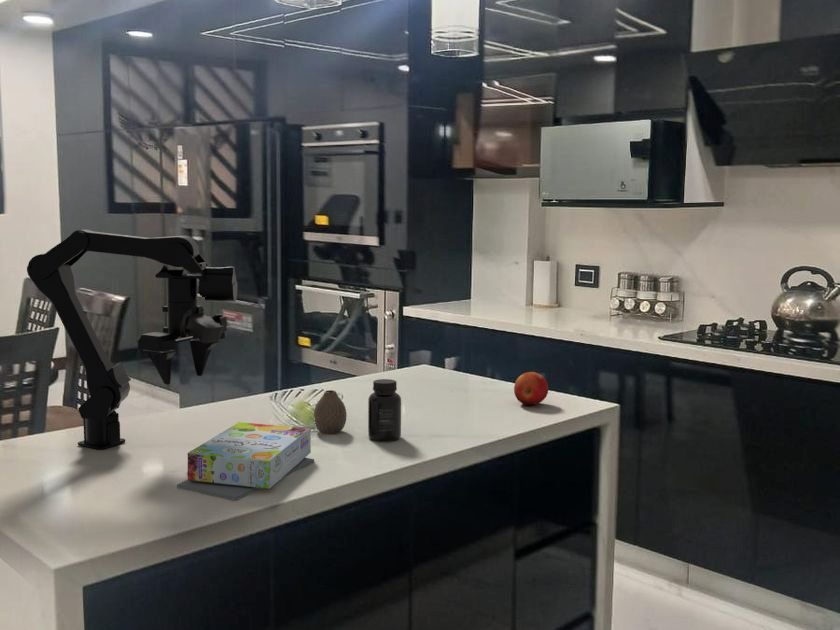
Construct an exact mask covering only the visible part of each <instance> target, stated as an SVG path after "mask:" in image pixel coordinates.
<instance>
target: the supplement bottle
mask: <svg viewBox="0 0 840 630" xmlns="http://www.w3.org/2000/svg"><path fill="white" fill-rule="evenodd" d="M372 383H373V387H372V391H374V392H372V393H371V394H370V395H369V396H368V401H367V403H368V404H367V405H368V407H367V408H368V411H367V412H368V415H367V417H368V418H367V419H368V420H367V423H368V425H367V427H368V429H367V432H368V438H369V439H370V440H371V441H375V442H383V443H384V442H385V443H386V442H395V441H397V440H399V439H401V436H402V397H401V395H400V394H399V393H397V392H396V391H397V390H398V388H397V385H398V383H397V380H394V379H389V378H387V379H386V378H380V379H375V380H373V382H372Z"/></svg>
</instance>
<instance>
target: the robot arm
mask: <svg viewBox="0 0 840 630" xmlns="http://www.w3.org/2000/svg"><path fill="white" fill-rule="evenodd" d="M88 252H94V253H102V254H112V255H121V256H122V255H124V256H129V257H130V256H131V257H138V258H146V259H150V260H152V261H155V262H157V263H160V264H164V265H163V266H162V267H161V269H160V270H159V271H158V272H157V273H156V274H155V278H156V279H166V305H164V306H162V309H161V310H162V313H166V315H167V316H166V317H167V319H166V320H167V321H166V322H167V324H166V325H167V326H165V327H164V326H163V327H162V332H157V331H154V332H153V331H152V332H147V333H142V334H140V335H139V336H138V338H137V349H138V350H141V351H142V352H143V353H144V354H146V355H147V356H148V357H149V359H150V361H151V362H152V364H153V365H154V367H155V368H156V370H157V372H158V374H159V376H160V378H161V380H162V383H163V384H164V385H167V386H169V385H170V384H171V378H172V358H173V357H174V356H175V354H176V353H177V350H174V348H175V347H176V345H177V343H182V342H187V341H189V346H190V350H191V356H192V360H193V367H194V370H195V373H196V376H197V377H202V376H203V375H204V371H205V368H206V366H207V362H208V359H209V357H210V354H211V351H212V349H214V348H215V347H216V346H217V345H218V344H220V343H221V341H222V340H223V339H225V338H226V335H225V334H226V332H227V331H228V328H227V327H228V324H227V323H228V322H227V315H224V314H223V313H219V314H218V313H217V314H214V316H210V315H209V316H208V315H206V314H205V313H204V307H203V305H199V304H198V303H199V302H198V301H199V300H198V299H199V298H198V293H199V296H200V297H201V298H204V301H205V302H219V303H220V302H225V303H226V302H228V303H231V302H232V303H233V302H234V303H236V301H237V299H238V298H237V297H238V281H237V275H236V271H235V266H225V267H220V266H219V267H218V266H217V267H215V266H214V267H212V266H211V267H210V265H209V264H208V262H207V261H206V260H205V258H204V257H203V256H202V255H201V253H200V248H199V245H198V243H197V241H196V240H195V239H194V238H193V237H191V236H188V235H173V236H170V235H169V236H161V237H160V236H158V237H145V236H136V235H126V234H119V233H110V232H102V231H100V232H99V231H92V230H91V229H80V230H79V229H77V230H74V231H73V232H72V233H71V234H70V235H69V236H68V237H66V238H65V239H64V240H62V241H61V242H60V243H58V244H56V245H55V246H53V247H52V248H50V249H49V250H48V251H46V252H45V253H41V254H36V255H34V256H33V257H32V258H31V259H30V260H29V261H28V264H27V266H26V272H27V276H28V277H29V279H30V280H31V281H32V283H33V284H34V285H35V287H36V288H37V289H38V291H39V292H40V293H41V294H43V296H45V297H46V298H47V299H48V300H49V301H50V302H51V303H52V305H53V308H54V309H55V312H56V314H57V315H58V317H59V320H60V321H61V323H62V325H63V327H64V329H65V331H66V333H67V335H68V338H69V339H70V341H71V343H72V345H73V347H74V349H75V352H76V353H77V356H78V358H79V359H80V361H81V364H82V366H83V367H84V371H85V380H86V381H85V382H86V386H87V391H88V393H89V398H87V399H86V400H85V401H84V402H83V403H82V404H81V405H80V406H79V407H78V409H77V410H78V412H79V415H80V418H81V419H82V420H83V421H82V422H83V440H80V441H78V442H77V446H83V447H87V448H92V449H96V450H104V449H107V448H109V447H110V448H111V447H114V446H116V445H118V444H122V443H125V442H126V439H125V438H121V422H120V420H119V414H120V413H119V412H117V411H116V410H117V409H119V408H120V405H121V403H122V402H123V401H124V400H126V398H127V397H128V396H129V393H130V391H131V385H130V382H131V380H132V379H131V378H130V377H129V376H128V374H127V373H126V371H125V367H124V364H123V362H121V361H120V362H119V363H117V364H115V363H113V362H112V360H110V359H109V358H108V356H107V354H106V353H105V351H104V348H103V346H102V344H101V342H100V340H99V337H98V336H97V335H96V332H95V330H94V328H93V326H92V324H91V322H90V320H89V318H88V316H87V314H86V312H85V310H84V308H83V306H82V305H81V302H80V300H79V298H78V295H77V294H76V290H75V289H76V288H75V279H74V273H73V270H72V267H73V266H74V264H76V263H77V262H79V260H81V258H82V257H83V256H85V254H87V253H88ZM170 266H171V267H174V268H171V267H170ZM181 268H182V269H181ZM187 271H188V272H189V273H188V272H187Z"/></svg>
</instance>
